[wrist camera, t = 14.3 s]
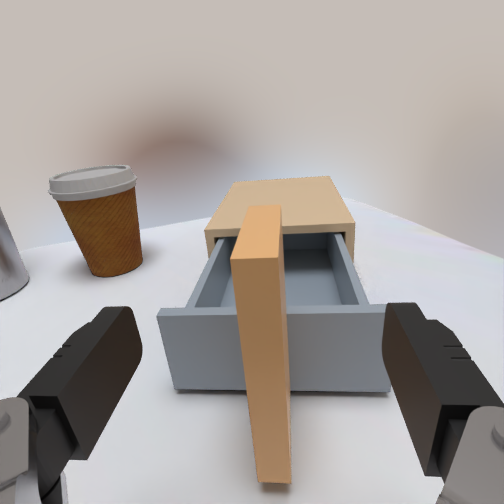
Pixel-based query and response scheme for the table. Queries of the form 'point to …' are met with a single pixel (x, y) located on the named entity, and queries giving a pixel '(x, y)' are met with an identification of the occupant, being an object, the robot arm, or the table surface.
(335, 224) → the box lid
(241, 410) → the table surface
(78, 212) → the disposable coffee cup
